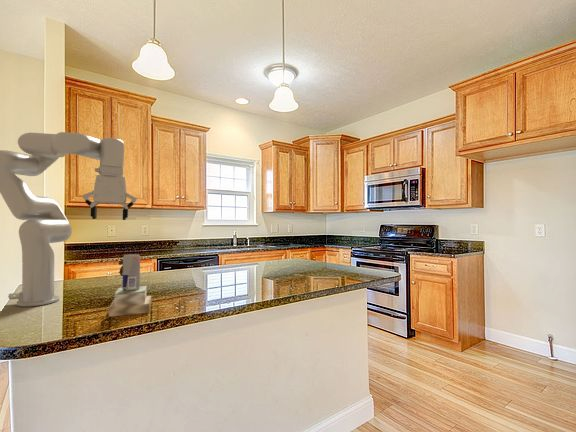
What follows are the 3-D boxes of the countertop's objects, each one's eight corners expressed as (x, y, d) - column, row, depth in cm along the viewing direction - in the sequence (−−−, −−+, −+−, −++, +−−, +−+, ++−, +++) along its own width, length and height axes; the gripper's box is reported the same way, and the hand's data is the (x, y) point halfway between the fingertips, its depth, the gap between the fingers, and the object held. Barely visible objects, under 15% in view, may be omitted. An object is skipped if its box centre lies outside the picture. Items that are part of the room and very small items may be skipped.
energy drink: (126, 287, 111) (126, 254, 111) (142, 287, 112) (142, 254, 112) (119, 291, 106) (120, 255, 106) (136, 290, 106) (136, 255, 107)
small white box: (108, 316, 101) (108, 294, 101) (114, 306, 112) (114, 287, 112) (149, 312, 105) (149, 291, 105) (151, 303, 116) (151, 284, 116)
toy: (125, 298, 124) (125, 260, 124) (113, 297, 125) (113, 260, 125) (139, 293, 132) (139, 258, 132) (128, 292, 133) (128, 257, 134)
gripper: (81, 169, 108) (78, 218, 108) (136, 173, 113) (134, 220, 113) (86, 171, 115) (84, 218, 115) (138, 175, 121) (136, 220, 120)
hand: (109, 219), depth 114 cm, fingers open, 9 cm apart
